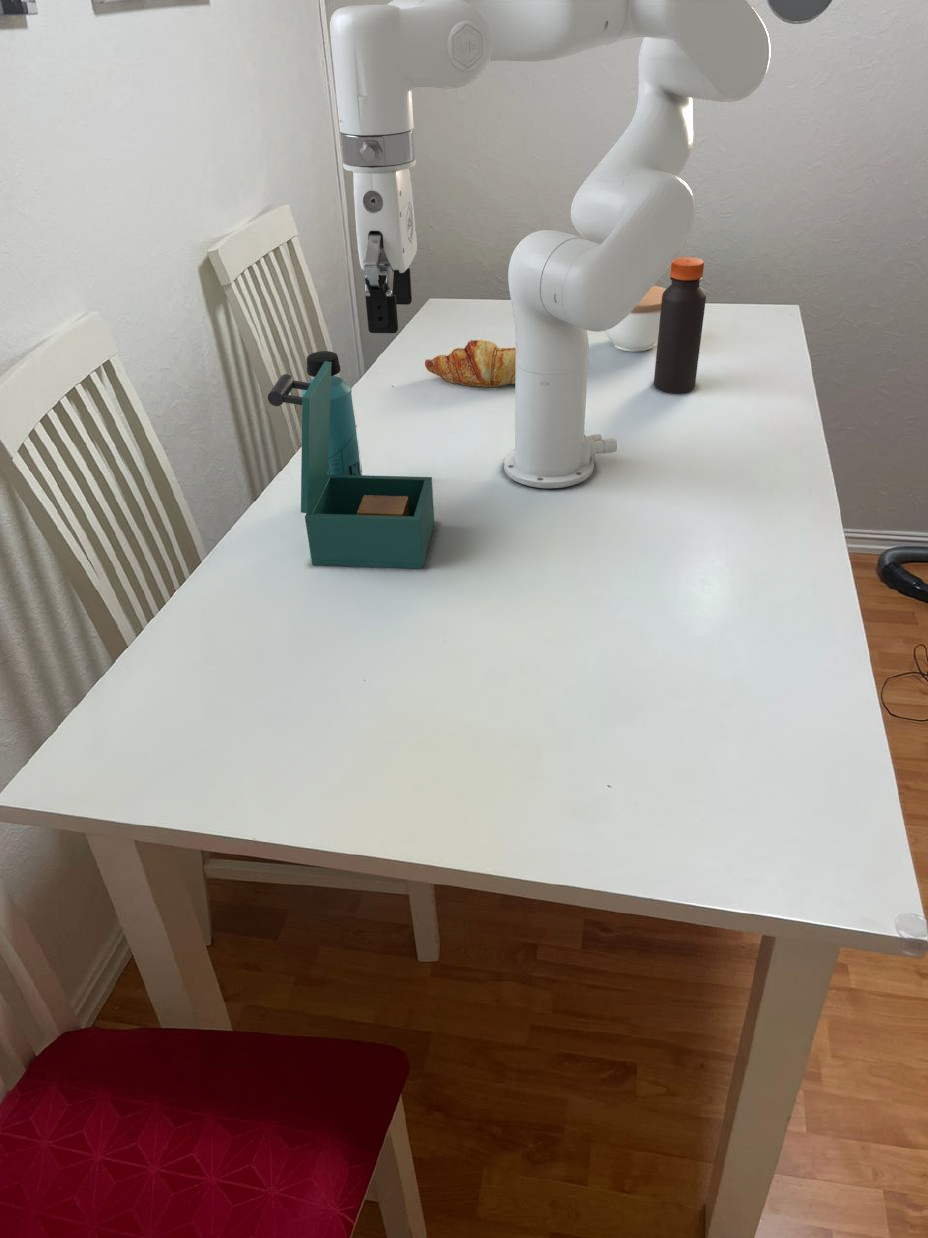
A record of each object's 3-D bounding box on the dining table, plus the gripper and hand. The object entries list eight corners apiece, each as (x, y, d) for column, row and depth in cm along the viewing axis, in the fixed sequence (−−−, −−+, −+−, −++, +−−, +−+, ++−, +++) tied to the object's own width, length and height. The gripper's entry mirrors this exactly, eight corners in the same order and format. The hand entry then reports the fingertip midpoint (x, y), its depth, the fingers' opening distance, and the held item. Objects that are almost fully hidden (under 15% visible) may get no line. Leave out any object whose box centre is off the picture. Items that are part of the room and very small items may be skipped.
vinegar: (645, 387, 152) (656, 262, 140) (666, 375, 156) (679, 252, 144) (681, 397, 148) (696, 270, 136) (702, 384, 152) (718, 259, 140)
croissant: (548, 393, 159) (551, 346, 158) (547, 387, 149) (550, 336, 148) (428, 388, 161) (430, 341, 160) (419, 382, 152) (421, 332, 150)
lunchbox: (434, 523, 118) (431, 476, 114) (422, 569, 110) (419, 519, 106) (331, 520, 119) (325, 474, 115) (312, 565, 111) (304, 516, 107)
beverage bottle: (357, 511, 121) (340, 365, 109) (309, 508, 122) (287, 363, 110) (370, 488, 126) (356, 346, 114) (325, 485, 127) (305, 344, 116)
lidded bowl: (592, 335, 172) (595, 275, 166) (657, 330, 173) (663, 270, 167) (607, 359, 162) (611, 296, 156) (677, 354, 163) (684, 291, 156)
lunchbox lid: (331, 361, 106) (285, 354, 107) (309, 398, 98) (260, 390, 98) (328, 471, 115) (285, 464, 115) (307, 513, 107) (261, 506, 107)
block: (411, 531, 115) (408, 496, 112) (405, 549, 112) (402, 513, 109) (367, 529, 116) (363, 494, 113) (360, 548, 112) (356, 512, 109)
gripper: (400, 166, 86) (412, 344, 96) (426, 135, 100) (434, 293, 110) (323, 167, 87) (342, 344, 97) (359, 136, 101) (373, 293, 111)
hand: (391, 317), depth 104 cm, fingers open, 9 cm apart
